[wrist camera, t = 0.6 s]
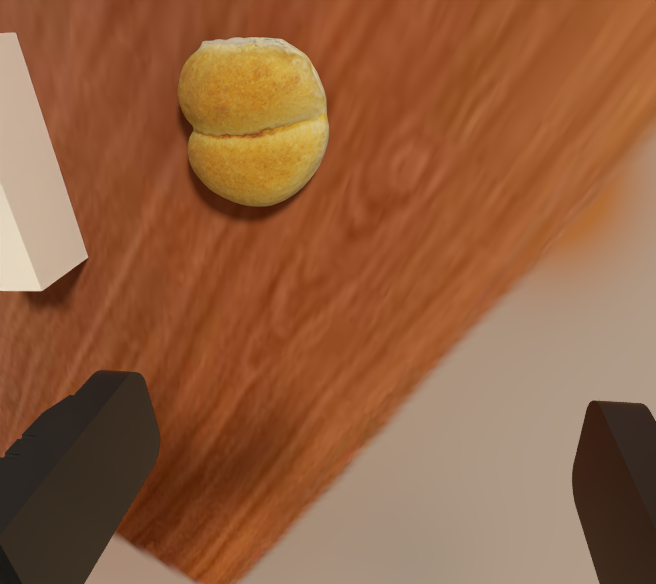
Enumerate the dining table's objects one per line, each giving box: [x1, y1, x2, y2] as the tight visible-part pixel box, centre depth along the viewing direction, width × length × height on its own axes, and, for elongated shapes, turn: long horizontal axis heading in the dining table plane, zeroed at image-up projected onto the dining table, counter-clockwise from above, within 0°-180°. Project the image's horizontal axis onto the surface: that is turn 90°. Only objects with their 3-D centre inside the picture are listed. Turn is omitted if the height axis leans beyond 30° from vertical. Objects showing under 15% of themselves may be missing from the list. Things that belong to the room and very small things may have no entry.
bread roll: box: [178, 37, 329, 206], centre depth 28 cm, size 8×9×4 cm
